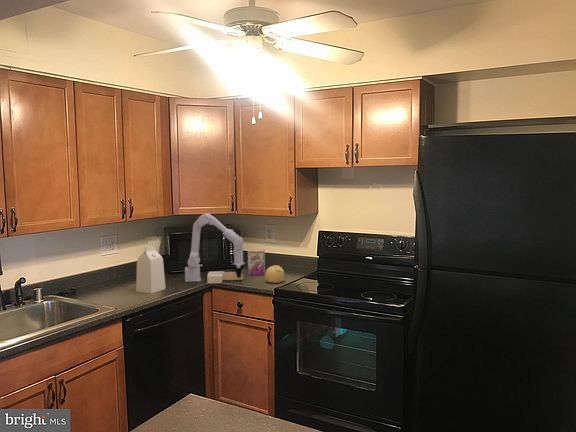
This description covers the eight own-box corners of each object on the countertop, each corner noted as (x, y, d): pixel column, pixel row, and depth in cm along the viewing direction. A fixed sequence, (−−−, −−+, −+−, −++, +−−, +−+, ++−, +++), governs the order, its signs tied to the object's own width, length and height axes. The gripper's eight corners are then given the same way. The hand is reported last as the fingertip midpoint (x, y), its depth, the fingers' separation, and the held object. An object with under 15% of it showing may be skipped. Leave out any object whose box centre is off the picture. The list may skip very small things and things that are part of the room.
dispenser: (207, 283, 290) (207, 276, 290) (209, 278, 304) (208, 271, 303) (223, 283, 291) (222, 275, 290) (223, 278, 305) (223, 271, 304)
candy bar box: (247, 275, 313) (247, 251, 311) (248, 273, 318) (248, 249, 316) (264, 275, 312) (263, 251, 310) (265, 273, 317) (264, 249, 315)
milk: (150, 286, 283) (148, 244, 281) (165, 288, 278) (164, 245, 276) (136, 291, 272) (134, 247, 270) (151, 293, 267) (149, 248, 265)
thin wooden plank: (220, 280, 297) (220, 272, 297) (220, 279, 298) (220, 272, 298) (242, 279, 298) (242, 271, 298) (242, 279, 299) (242, 271, 299)
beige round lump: (285, 283, 287) (285, 266, 286) (266, 284, 285) (265, 267, 284) (283, 279, 298) (283, 263, 297) (264, 280, 297) (264, 263, 296)
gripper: (244, 257, 290) (245, 279, 292) (244, 253, 305) (245, 274, 306) (233, 258, 290) (234, 279, 291) (234, 254, 304) (234, 274, 305)
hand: (239, 277), depth 298 cm, fingers closed, pressing on thin wooden plank
